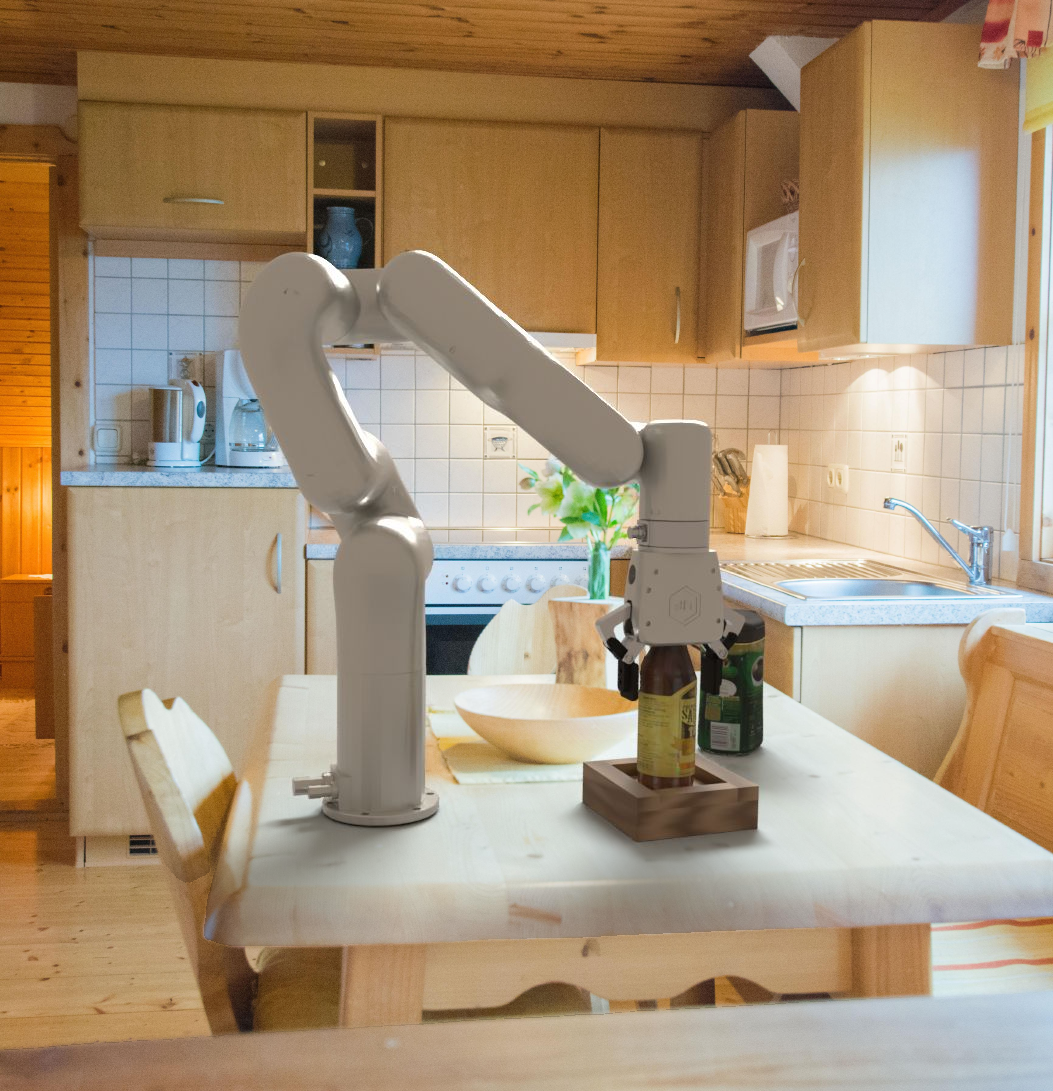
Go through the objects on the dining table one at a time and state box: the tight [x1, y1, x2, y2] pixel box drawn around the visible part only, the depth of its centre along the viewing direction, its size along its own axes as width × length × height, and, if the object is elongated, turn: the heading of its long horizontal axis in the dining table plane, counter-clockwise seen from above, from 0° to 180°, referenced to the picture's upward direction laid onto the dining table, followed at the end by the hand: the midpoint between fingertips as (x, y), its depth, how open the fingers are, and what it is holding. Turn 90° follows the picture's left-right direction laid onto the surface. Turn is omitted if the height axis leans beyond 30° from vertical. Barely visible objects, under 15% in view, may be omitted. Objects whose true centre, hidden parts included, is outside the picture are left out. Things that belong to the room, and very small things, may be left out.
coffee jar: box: [696, 608, 766, 756], centre depth 151 cm, size 10×8×19 cm
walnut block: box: [581, 752, 760, 843], centre depth 123 cm, size 14×14×4 cm
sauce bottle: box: [636, 645, 698, 790], centre depth 122 cm, size 7×6×20 cm
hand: (669, 695), depth 122 cm, fingers open, 9 cm apart
